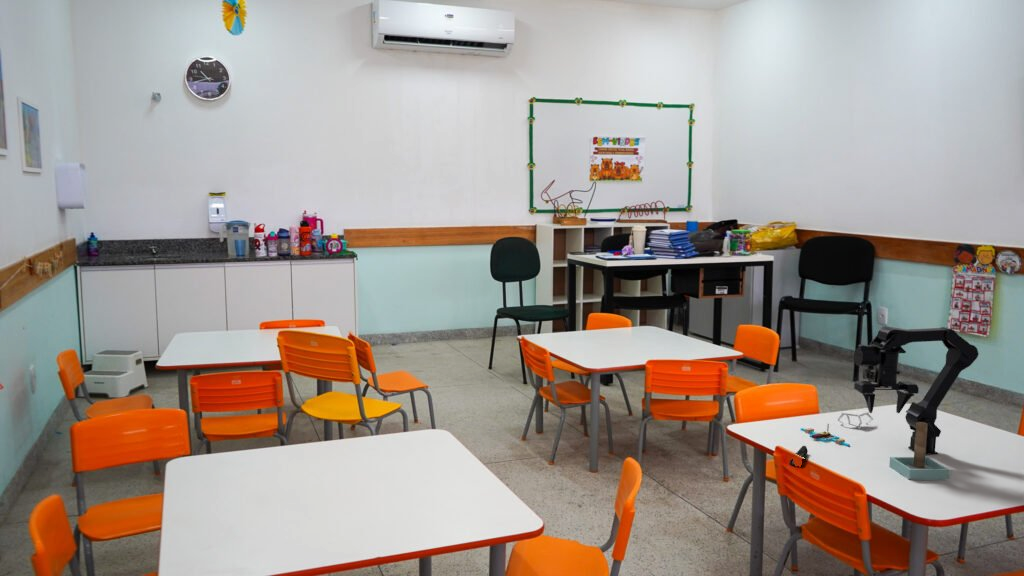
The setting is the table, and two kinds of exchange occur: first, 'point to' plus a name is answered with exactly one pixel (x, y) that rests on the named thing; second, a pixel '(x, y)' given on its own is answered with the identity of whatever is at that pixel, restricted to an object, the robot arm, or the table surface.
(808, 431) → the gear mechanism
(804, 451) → the electric trimmer
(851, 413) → the eyeglasses
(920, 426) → the rod
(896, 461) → the tray
